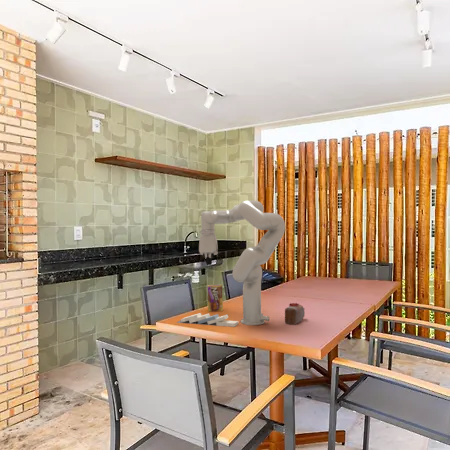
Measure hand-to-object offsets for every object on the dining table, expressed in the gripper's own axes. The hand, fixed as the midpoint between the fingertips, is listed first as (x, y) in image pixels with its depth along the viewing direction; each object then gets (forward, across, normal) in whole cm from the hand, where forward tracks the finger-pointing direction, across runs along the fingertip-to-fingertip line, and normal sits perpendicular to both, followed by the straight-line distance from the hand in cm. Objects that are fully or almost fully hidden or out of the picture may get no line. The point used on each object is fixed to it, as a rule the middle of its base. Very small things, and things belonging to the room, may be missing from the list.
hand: (209, 264), depth 224 cm
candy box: (+29, -2, +12) cm, 32 cm away
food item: (+30, +49, -2) cm, 57 cm away
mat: (+29, +3, -18) cm, 34 cm away
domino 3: (+28, +7, -19) cm, 34 cm away
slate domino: (+28, +2, -19) cm, 33 cm away
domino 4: (+28, +12, -19) cm, 36 cm away
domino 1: (+28, -8, -18) cm, 34 cm away
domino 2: (+28, -3, -19) cm, 34 cm away
